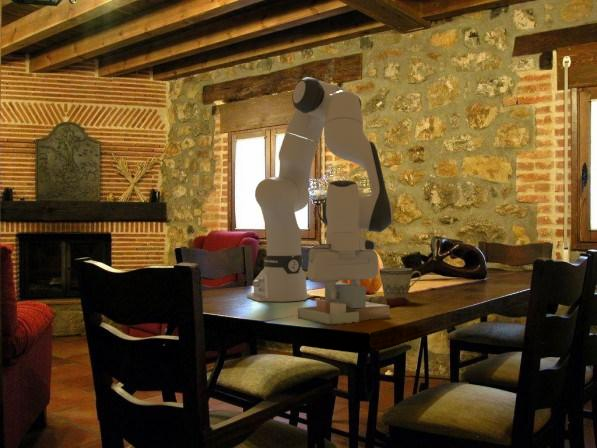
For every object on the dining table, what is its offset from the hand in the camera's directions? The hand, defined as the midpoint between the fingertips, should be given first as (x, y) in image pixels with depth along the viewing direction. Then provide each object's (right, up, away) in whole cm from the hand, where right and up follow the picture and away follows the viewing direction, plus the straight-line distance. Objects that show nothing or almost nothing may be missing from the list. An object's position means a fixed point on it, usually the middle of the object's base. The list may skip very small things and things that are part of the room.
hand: (343, 297), depth 156 cm
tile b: (-1, -3, -4) cm, 5 cm away
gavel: (+14, -6, +21) cm, 26 cm away
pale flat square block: (+4, -5, +2) cm, 7 cm away
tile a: (-4, -3, +1) cm, 5 cm away
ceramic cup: (+20, -5, +33) cm, 39 cm away
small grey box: (0, -2, 0) cm, 2 cm away
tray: (-4, -5, -3) cm, 7 cm away
